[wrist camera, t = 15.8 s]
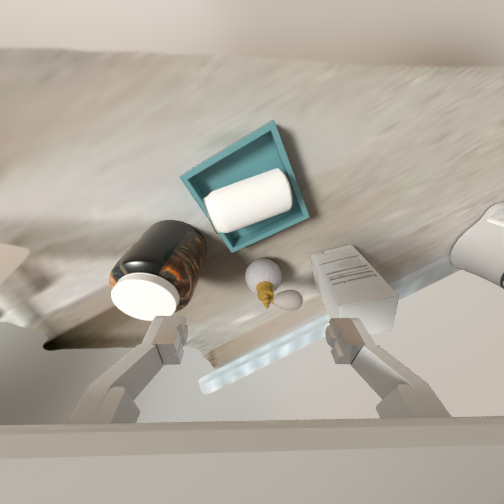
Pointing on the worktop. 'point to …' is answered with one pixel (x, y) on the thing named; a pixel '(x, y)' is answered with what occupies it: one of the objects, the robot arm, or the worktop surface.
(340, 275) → the supplement box
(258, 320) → the worktop surface
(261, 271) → the perfume bottle
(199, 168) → the bin
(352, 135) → the worktop surface
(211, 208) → the can
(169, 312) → the jar
